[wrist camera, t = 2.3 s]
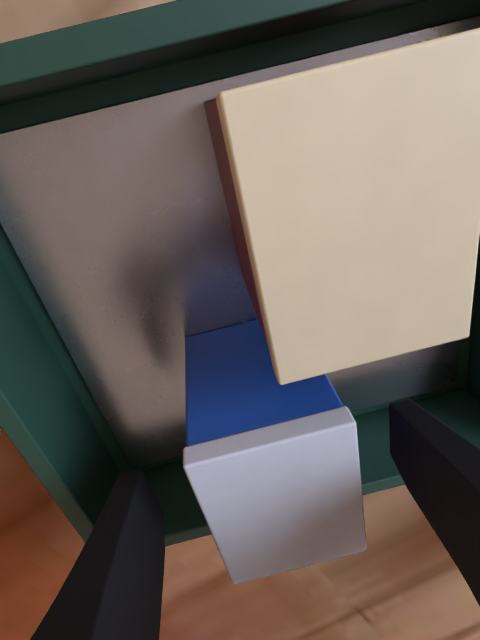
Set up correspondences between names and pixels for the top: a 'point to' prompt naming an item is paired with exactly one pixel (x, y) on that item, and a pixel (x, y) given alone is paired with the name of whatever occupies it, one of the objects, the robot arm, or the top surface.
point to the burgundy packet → (356, 202)
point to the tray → (137, 82)
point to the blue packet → (269, 458)
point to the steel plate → (159, 251)
